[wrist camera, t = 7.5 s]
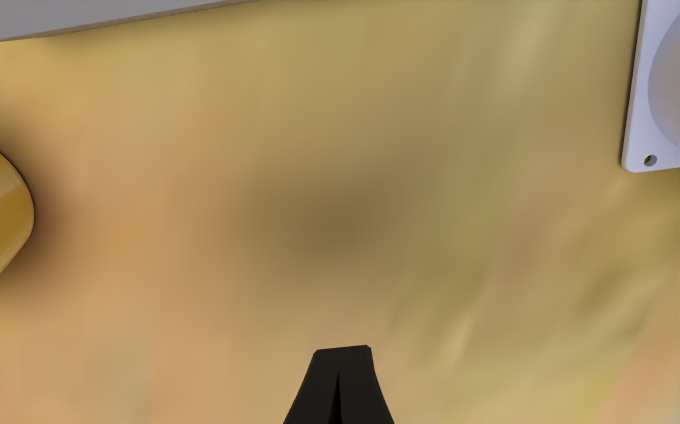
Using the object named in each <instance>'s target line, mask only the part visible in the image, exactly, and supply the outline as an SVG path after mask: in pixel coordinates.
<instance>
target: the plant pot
mask: <svg viewBox="0 0 680 424" xmlns="http://www.w3.org/2000/svg"><path fill="white" fill-rule="evenodd" d="M33 223H34V207H33V202H32V198H31V195H30V193H29V190H28V188H27V186H26V184H25V183H24V181H23V179H22V177H21V176H20V175H19V173H18V172H17V171H16V169H15V168H14V167H13V166H12V164H11V163H10V162H9V161H8V160H7V159H6V158H5V157H3V156H2V155H1V154H0V273H1V272H2V271H3V270H4V268H5V267H6V266H7V265H8V264H9V262H10V261H11V260H12V259H13V257H14V256H15V255H16V254H17V253H18V251H19V250H20V249H21V248H22V246H23V245H24V244H25V242H26V241H27V239H28V238H29V236H30V234H31V231H32V228H33Z"/></svg>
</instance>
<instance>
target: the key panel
mask: <svg viewBox="0 0 680 424" xmlns="http://www.w3.org/2000/svg"><path fill="white" fill-rule="evenodd" d="M251 1H257V0H0V42H1V41H11V40H20V39H30V38H39V37H47V36H53V35H59V34H65V33H71V32H77V31H82V30H88V29H94V28H100V27H106V26H111V25H117V24H123V23H129V22H135V21H141V20H146V19H152V18H158V17H164V16H170V15H176V14H181V13H187V12H193V11H199V10H205V9H210V8H216V7H222V6H228V5H234V4H240V3H245V2H251Z"/></svg>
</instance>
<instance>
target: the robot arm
mask: <svg viewBox="0 0 680 424" xmlns="http://www.w3.org/2000/svg"><path fill="white" fill-rule="evenodd" d="M649 155H651V159H650V160H649V161H648V162H647V163H644V160H645V158H646V157H648V156H649ZM621 163H622V166H623V168H624V169H626V170H627V171H629V172H631V173H639V172H647V171H655V170H663V169H671V168H678V167H680V0H643V2H642V10H641V17H640V25H639V32H638V40H637V47H636V55H635V62H634V70H633V78H632V85H631V93H630V100H629V108H628V115H627V123H626V130H625V138H624V145H623V153H622V160H621ZM283 424H394V421H393V419H392V417H391V414H390V412H389V409H388V407H387V405H386V402H385V400H384V397H383V395H382V392H381V389H380V386H379V383H378V380H377V377H376V373H375V370H374V364H373V358H372V351H371V348H370V347H368V346H367V345H359V346H350V347H340V348H330V349H320V350H317V351H316V352H315V353H314V354H313V357H312V360H311V362H310V365H309V368H308V370H307V373H306V375H305V378H304V380H303V382H302V385H301V387H300V389H299V391H298V394H297V396H296V398H295V400H294V402H293V404H292V406H291V408H290V410H289V412H288V414H287V416H286V418H285V421H284V423H283Z"/></svg>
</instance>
